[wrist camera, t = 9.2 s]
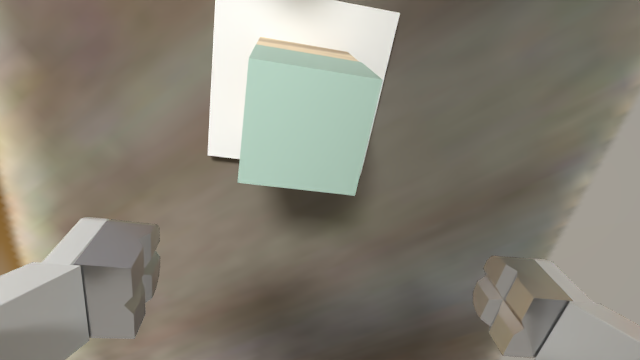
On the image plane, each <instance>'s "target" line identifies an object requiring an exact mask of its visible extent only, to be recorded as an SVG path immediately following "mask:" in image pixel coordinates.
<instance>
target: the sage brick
mask: <svg viewBox="0 0 640 360" xmlns="http://www.w3.org/2000/svg"><path fill="white" fill-rule="evenodd" d="M382 81H383V80H382V79H381V78H380V77H379V76H378V75H376V74H375V73H374V72H373V71H372V70H370V69H369V68H368V67H367V66H366V65H364V64H363V63H362V62H357V61H351V60H345V59H340V58H334V57H328V56H322V55H316V54H310V53H304V52H298V51H292V50H287V49H281V48H275V47H269V46H263V45H257V44H256V45H255V47H254V49H253V51H252V53H251V55H250V57H249V61H248V72H247V84H246V95H245V106H244V117H243V128H242V140H241V151H240V162H239V173H238V183H245V184H254V185H263V186H272V187H281V188H290V189H299V190H308V191H317V192H326V193H335V194H344V195H353V196H355V193H356V189H357V185H358V181H359V177H360V173H361V169H362V164H363V160H364V156H365V152H366V148H367V144H368V139H369V135H370V131H371V127H372V123H373V119H374V115H375V110H376V106H377V102H378V98H379V94H380V90H381V85H382Z"/></svg>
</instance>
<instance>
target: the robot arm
mask: <svg viewBox="0 0 640 360" xmlns="http://www.w3.org/2000/svg"><path fill="white" fill-rule="evenodd" d="M159 242H160V228H159V226H158V225H157V224H149V223H140V222H131V221H122V220H113V219H111V220H109V219H104V218H92V217H85V218H81V219H80V220H79V221H78V222H77V223H76V225H75V226H74V227H73V228H72V229H71V230H70V231H69V232H68V233H67V235H66V236H65V237H64V238H63V239H62V240H61V241H60V242H59V243H58V245H57V246H56V247H55V248H54V249H53V250H52V251H51V252H50V253H49V255H48V256H47V257H46V258H45V259H44V260H43V261H42V262H41V263H37V262H32V263H30V264H27V265H25V266H23V267H20V268H18V269H16V270H13V271H11V272H8V273H6V274H4V275H1V276H0V360H65V359H67V358H68V357H69V356H70V355H72V354H73V353H74V352H75V351H77V350H78V349H79V348H80V347H82V346H83V345H84V344H85V343H87V342H88V341H89V338H124V339H135V337H136V335H137V332H138V330H139V328H140V325H141V323H142V321H143V318H144V316H145V314H146V313H145V303H146V302H147V301H149V300H150V299H152V297H153V295H154V292H155V290H156V287H157V282H158V278H159V272H160V256H159V255H158V253H157V252H156V251H155V250H156V248H157V246H158V244H159ZM483 269H484V272H485V276H484V277H483V278H481V279H480V280H479V281H477V283H476V286H475V288H474V291H473V305H474V308H475V311H476V313H477V314H478V316H479V318H480V319H481V320H482V321H484V322H485V323H486V324H488V325H489V326H490V328H489V334H490V336H491V338H492V339H493V341H494V343H495V344H496V346H497V347H498V349H499V351H500V352H501V354H502V356H515V357H527V358H535V360H640V325H638V324H636V323H634V322H632V321H631V320H629V319H627V318H625V317H624V316H622V315H620V314H618V313H616V312H614V311H613V310H611V309H609V308H607V307H605V306H603V305H602V304H598V303H594V302H593V301H592V300H591V299H590V298H589V297H588V296H587V295H585V293H584V292H583V291H582V290H581V289H580V288H579V287H578V286H577V285H575V283H574V282H573V281H572V280H570V278H569V277H567V276H566V275H565V274H564V273H563V272H562V271H561V270H560V269H559V268H558V267H557V266H556V265H555V264H554V263H553V262H552V261H549V260H547V259H537V258H516V257H503V256H491V257H490V258H489V259H488V260H487V261H486V263H485V265H484V268H483Z"/></svg>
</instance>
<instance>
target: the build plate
mask: <svg viewBox="0 0 640 360" xmlns="http://www.w3.org/2000/svg"><path fill="white" fill-rule="evenodd" d="M399 15H400V13H397V12H392V11H387V10H382V9H377V8H371V7H366V6H361V5H356V4H351V3H346V2H341V1H335V0H215V18H214V38H213V58H212V78H211V98H210V118H209V138H208V155H209V156H218V157H226V158H234V159H240V151H241V140H242V128H243V117H244V106H245V95H246V84H247V72H248V61H249V57H250V55H251V53H252V51H253V49H254V47H255V45H256V44H257V42H258V40H259V38H260V37H265V38H271V39H276V40H282V41H288V42H294V43H299V44H305V45H311V46H317V47H322V48H328V49H334V50H340V51H346V52H348V53H349V54H351V55H352V56H353V57H354V58H355V59H357V60H358V61H359V62H362V63H363V64H364V65H366V66H367V67H368V68H369V69H370V70H372V71H373V72H374V73H375V74H376V75H378V76H379V77H380V78H381V79H382V80H383V81H384V77H385V73H386V69H387V65H388V61H389V57H390V53H391V48H392V44H393V40H394V36H395V32H396V28H397V24H398V19H399ZM383 81H382V85H381V90H382V86H383ZM381 90H380V94H381ZM380 94H379V98H380ZM379 98H378V102H379ZM378 102H377V106H378ZM377 106H376V110H377ZM376 110H375V114H376ZM374 119H375V115H374ZM374 119H373V123H374ZM373 123H372V127H373ZM372 127H371V131H372ZM371 131H370V135H371ZM370 135H369V139H370ZM369 139H368V143H369ZM367 148H368V144H367ZM367 148H366V152H367ZM366 152H365V156H366ZM365 156H364V160H365ZM364 160H363V164H364ZM363 164H362V168H363ZM361 172H362V169H361ZM360 174H361V173H360Z"/></svg>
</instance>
